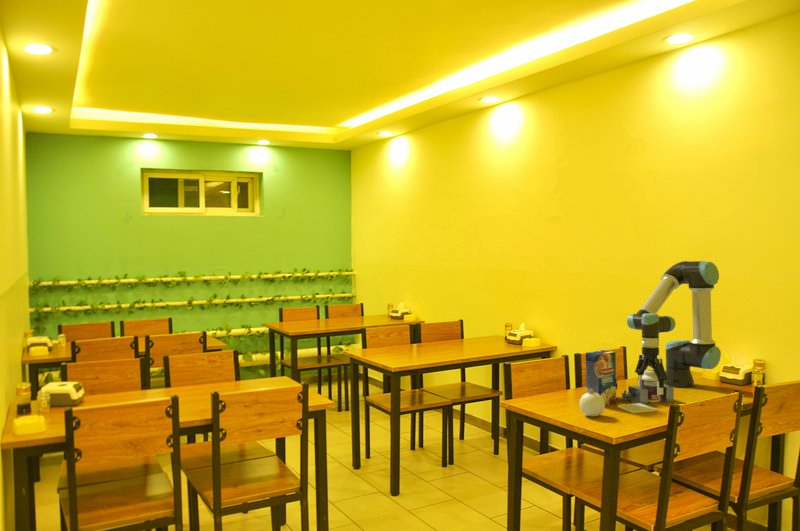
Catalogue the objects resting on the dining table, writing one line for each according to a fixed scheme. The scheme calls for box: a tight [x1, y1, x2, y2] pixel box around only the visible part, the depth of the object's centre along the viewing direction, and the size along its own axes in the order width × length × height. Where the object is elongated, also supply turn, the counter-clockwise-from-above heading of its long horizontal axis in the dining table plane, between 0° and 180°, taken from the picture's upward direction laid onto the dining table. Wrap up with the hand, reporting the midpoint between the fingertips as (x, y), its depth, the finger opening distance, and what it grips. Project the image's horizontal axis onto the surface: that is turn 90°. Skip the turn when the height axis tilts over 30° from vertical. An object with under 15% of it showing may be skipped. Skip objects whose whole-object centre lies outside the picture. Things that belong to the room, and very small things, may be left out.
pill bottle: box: [642, 369, 661, 404], centre depth 302 cm, size 8×8×14 cm
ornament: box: [579, 389, 606, 418], centre depth 278 cm, size 10×10×12 cm
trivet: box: [616, 403, 658, 414], centre depth 288 cm, size 12×12×1 cm
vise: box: [621, 384, 675, 405], centre depth 304 cm, size 24×14×7 cm, turn 105°
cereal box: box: [585, 349, 617, 407], centre depth 299 cm, size 12×8×24 cm, turn 123°
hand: (650, 391), depth 302 cm, fingers open, 13 cm apart
